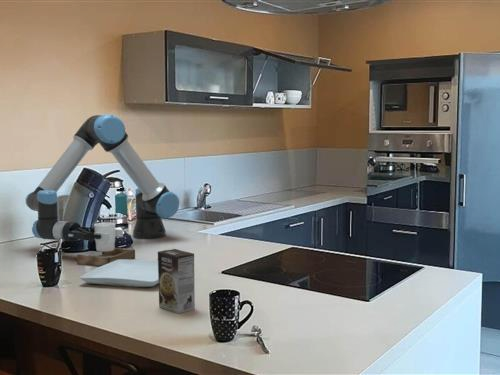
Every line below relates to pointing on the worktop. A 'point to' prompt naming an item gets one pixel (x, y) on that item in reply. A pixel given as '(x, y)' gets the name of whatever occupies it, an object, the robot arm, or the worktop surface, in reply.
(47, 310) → the worktop surface
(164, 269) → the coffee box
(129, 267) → the square plate
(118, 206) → the green pump bottle
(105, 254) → the caddy
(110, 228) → the white cup
